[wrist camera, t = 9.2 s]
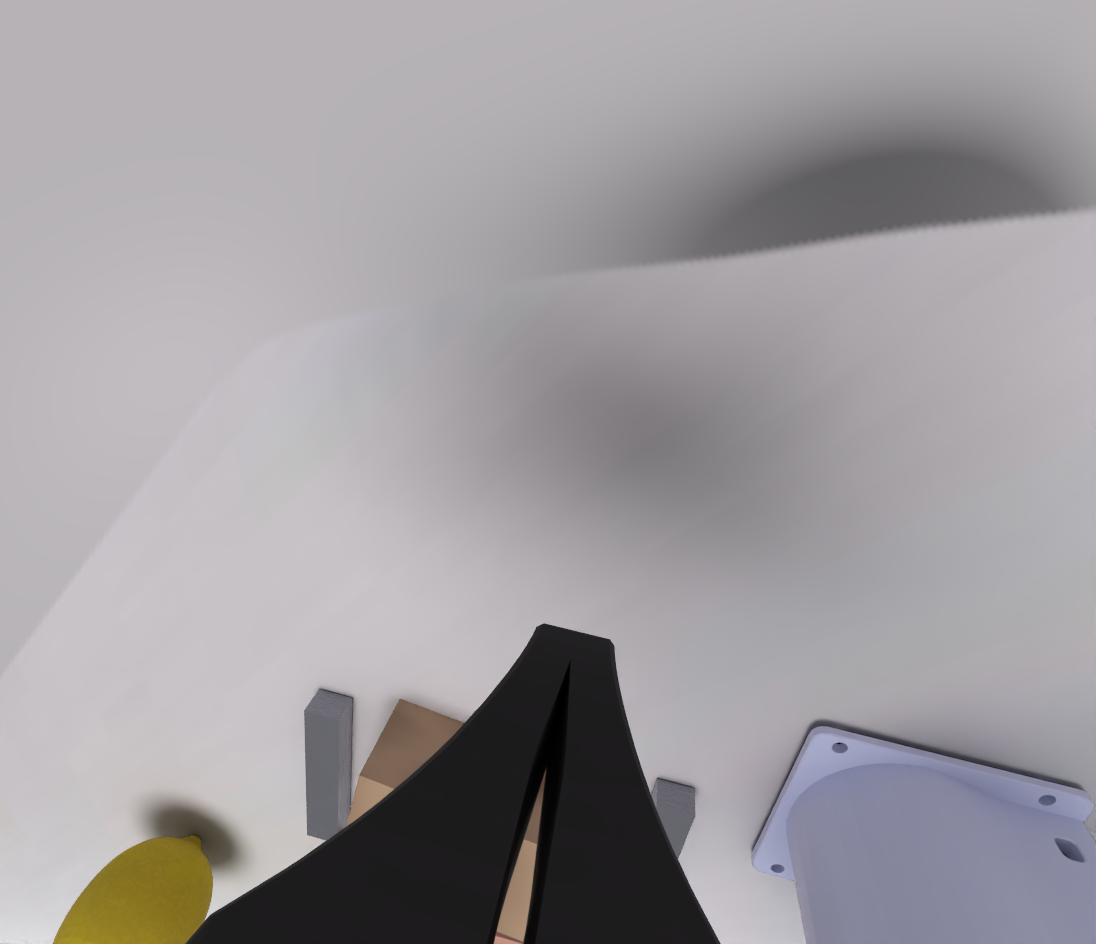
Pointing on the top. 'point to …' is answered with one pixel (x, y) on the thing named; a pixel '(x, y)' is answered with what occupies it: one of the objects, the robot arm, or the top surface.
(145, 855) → the lemon
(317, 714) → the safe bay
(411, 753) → the block
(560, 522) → the top surface
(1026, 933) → the robot arm
